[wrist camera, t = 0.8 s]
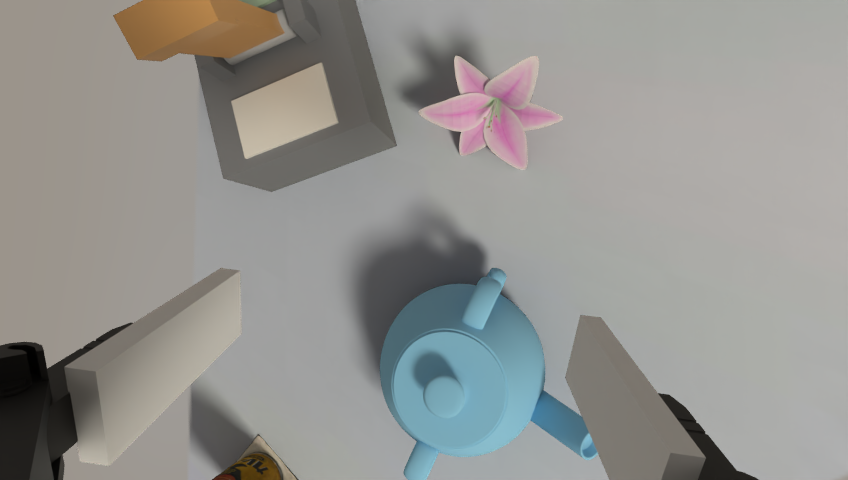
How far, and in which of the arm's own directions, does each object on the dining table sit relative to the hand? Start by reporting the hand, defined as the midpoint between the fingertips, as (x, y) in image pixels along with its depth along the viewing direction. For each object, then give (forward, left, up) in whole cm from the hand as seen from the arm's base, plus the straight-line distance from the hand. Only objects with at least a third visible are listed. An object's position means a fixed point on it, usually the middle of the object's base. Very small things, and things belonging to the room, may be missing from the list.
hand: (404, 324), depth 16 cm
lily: (-15, -6, -27) cm, 32 cm away
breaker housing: (-11, -28, -27) cm, 41 cm away
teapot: (+7, +5, -27) cm, 29 cm away
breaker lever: (-12, -28, -19) cm, 36 cm away
